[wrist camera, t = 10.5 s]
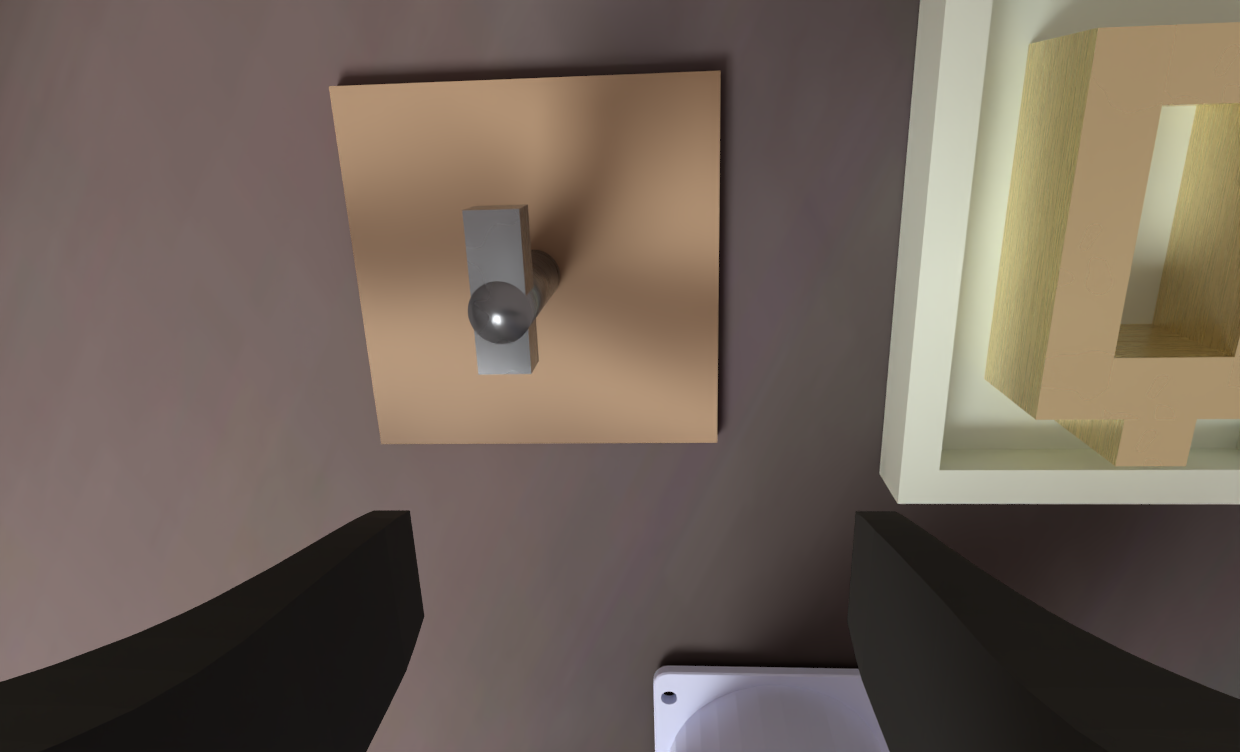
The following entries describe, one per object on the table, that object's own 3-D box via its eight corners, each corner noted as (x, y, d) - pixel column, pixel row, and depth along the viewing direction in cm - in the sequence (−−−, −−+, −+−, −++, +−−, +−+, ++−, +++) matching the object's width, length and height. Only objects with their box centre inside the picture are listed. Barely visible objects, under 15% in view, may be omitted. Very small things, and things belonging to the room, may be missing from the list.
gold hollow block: (1278, 34, 17) (1399, 15, 14) (1189, 418, 20) (1275, 466, 17) (1028, 44, 17) (1098, 27, 15) (978, 419, 21) (1028, 466, 18)
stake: (562, 324, 21) (535, 374, 16) (513, 325, 21) (473, 374, 16) (555, 191, 19) (524, 208, 15) (502, 193, 19) (457, 210, 15)
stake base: (716, 437, 22) (717, 442, 21) (386, 438, 22) (381, 444, 22) (719, 71, 19) (720, 70, 18) (335, 87, 19) (329, 86, 19)
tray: (1251, 472, 21) (1304, 504, 19) (879, 473, 22) (897, 503, 20) (1403, -110, 16) (1490, -138, 15) (927, -84, 17) (956, -109, 15)
